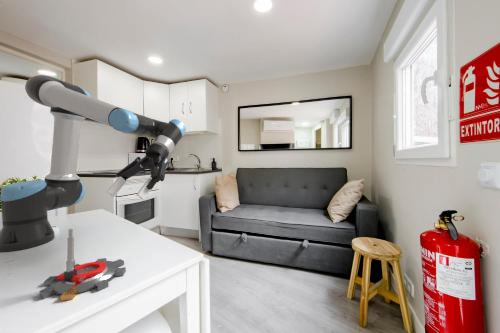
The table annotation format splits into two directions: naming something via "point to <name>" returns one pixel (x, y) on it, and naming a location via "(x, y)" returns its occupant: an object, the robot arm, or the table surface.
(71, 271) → the tow hook
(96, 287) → the sprocket plate
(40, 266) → the table surface
